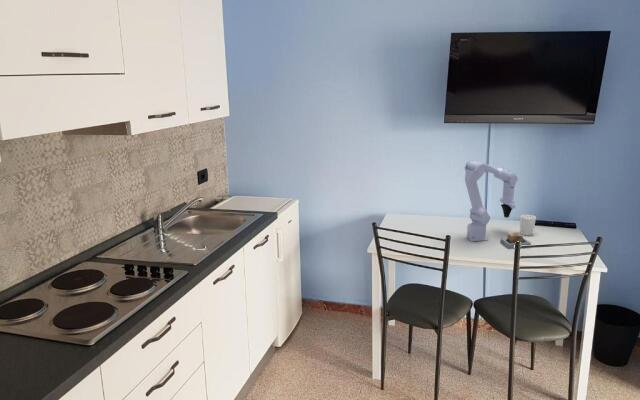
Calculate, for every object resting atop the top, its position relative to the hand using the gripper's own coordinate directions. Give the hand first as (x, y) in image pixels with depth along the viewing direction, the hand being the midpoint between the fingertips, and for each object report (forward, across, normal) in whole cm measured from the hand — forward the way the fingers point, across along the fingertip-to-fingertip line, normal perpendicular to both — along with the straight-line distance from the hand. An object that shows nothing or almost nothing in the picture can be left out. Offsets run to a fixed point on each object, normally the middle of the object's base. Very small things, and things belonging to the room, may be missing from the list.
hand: (506, 217), depth 276 cm
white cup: (+10, -3, -11) cm, 15 cm away
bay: (+9, -18, +3) cm, 21 cm away
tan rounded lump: (+9, -16, +2) cm, 19 cm away
